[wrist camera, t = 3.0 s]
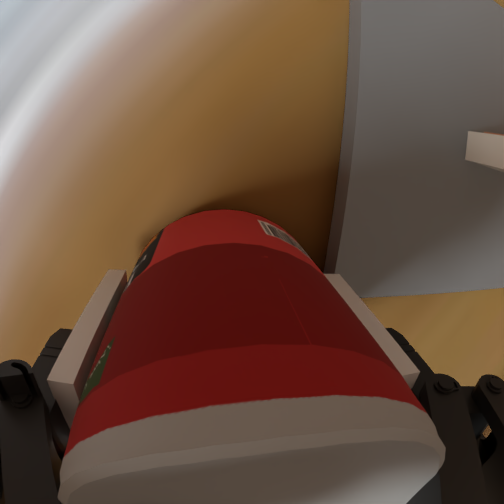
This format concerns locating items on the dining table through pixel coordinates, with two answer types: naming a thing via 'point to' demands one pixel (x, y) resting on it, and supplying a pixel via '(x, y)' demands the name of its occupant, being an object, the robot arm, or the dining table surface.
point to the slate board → (419, 150)
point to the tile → (486, 149)
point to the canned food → (242, 383)
